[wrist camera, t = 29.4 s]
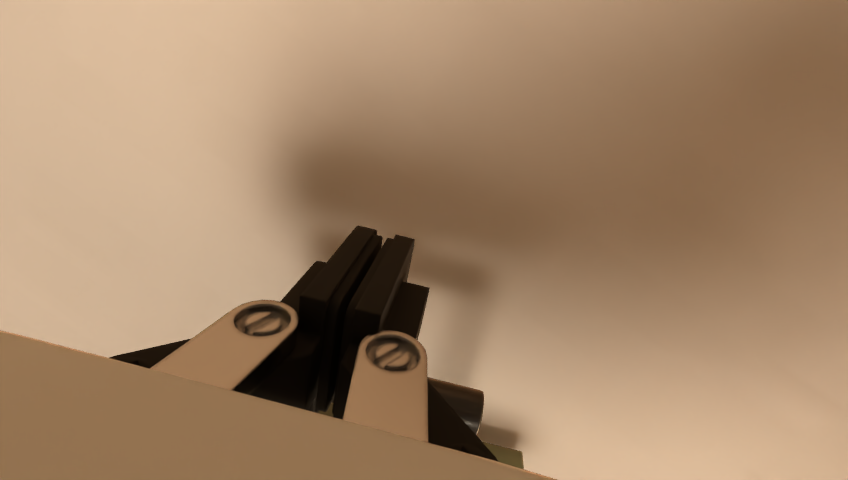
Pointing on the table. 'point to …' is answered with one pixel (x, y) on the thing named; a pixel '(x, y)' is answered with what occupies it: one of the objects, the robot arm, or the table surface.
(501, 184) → the table surface
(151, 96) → the table surface
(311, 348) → the robot arm
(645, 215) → the table surface
